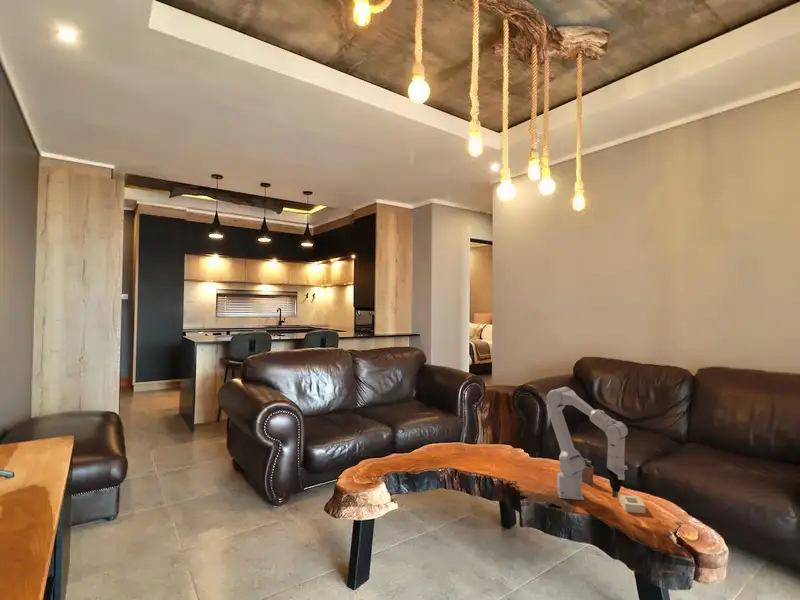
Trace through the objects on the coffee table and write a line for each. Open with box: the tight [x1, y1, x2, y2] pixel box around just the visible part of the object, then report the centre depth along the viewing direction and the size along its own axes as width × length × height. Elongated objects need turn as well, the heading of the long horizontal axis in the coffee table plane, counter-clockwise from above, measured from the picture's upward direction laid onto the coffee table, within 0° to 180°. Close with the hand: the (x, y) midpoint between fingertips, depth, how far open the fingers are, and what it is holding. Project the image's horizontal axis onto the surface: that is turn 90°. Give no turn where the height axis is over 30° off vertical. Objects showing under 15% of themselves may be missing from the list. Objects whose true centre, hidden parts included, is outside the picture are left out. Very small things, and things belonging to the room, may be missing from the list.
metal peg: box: [611, 488, 619, 499], centre depth 160 cm, size 2×2×9 cm
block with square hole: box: [619, 494, 646, 514], centre depth 165 cm, size 7×7×3 cm
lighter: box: [582, 457, 595, 486], centre depth 187 cm, size 8×3×10 cm, turn 30°
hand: (615, 489), depth 160 cm, fingers closed on metal peg, 2 cm apart
